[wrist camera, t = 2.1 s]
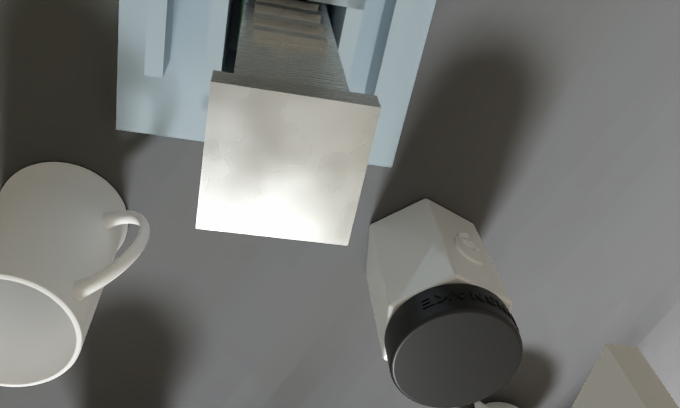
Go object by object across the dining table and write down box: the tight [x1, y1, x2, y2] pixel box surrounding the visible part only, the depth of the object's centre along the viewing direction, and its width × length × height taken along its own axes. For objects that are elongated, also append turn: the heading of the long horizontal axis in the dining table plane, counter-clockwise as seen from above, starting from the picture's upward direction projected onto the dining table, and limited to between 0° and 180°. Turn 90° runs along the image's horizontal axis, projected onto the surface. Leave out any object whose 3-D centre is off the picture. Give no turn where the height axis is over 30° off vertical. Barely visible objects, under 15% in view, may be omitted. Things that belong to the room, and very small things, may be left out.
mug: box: [0, 162, 150, 387], centre depth 39 cm, size 12×8×12 cm
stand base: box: [116, 0, 436, 167], centre depth 35 cm, size 18×18×9 cm
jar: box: [366, 199, 523, 408], centre depth 44 cm, size 9×8×12 cm
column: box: [196, 0, 381, 246], centre depth 29 cm, size 5×5×20 cm
